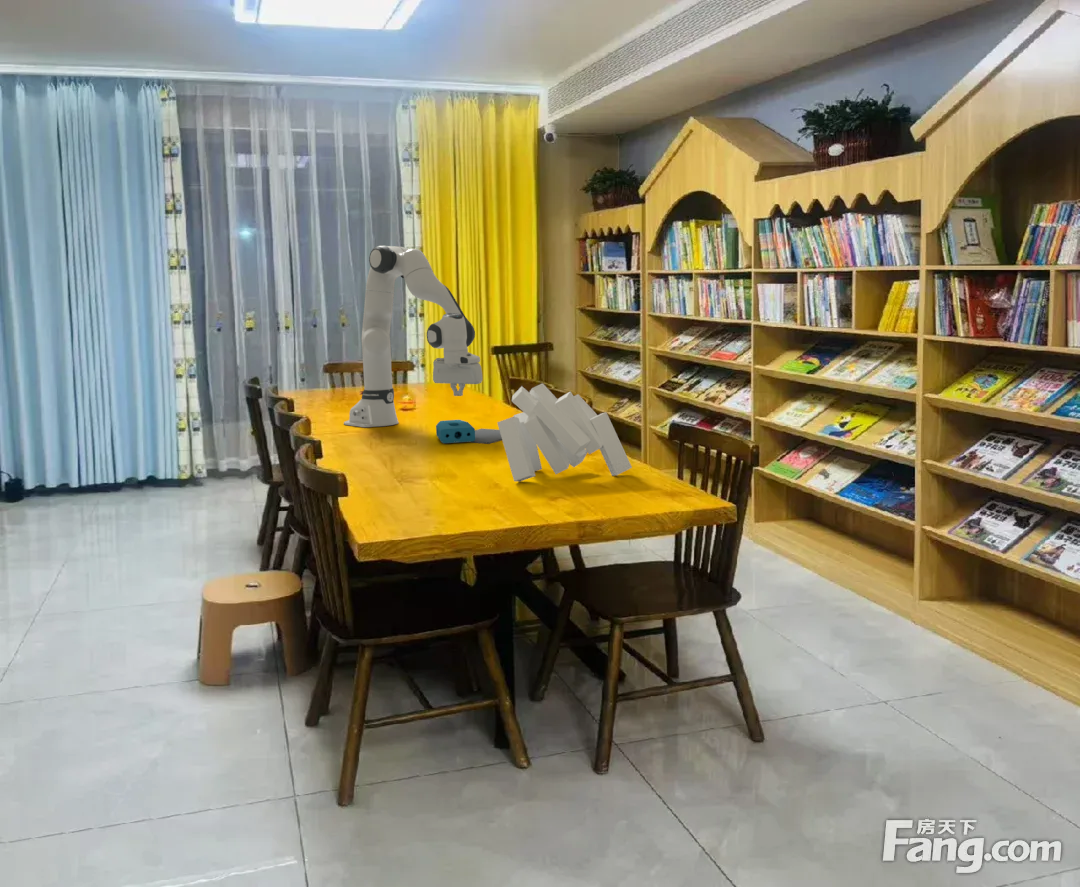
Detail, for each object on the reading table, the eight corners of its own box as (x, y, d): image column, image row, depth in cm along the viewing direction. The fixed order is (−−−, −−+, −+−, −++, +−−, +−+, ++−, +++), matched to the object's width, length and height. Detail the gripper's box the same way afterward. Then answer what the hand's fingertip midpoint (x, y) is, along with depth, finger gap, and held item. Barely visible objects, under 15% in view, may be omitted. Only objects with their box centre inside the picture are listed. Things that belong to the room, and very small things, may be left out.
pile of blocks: (614, 480, 322) (565, 379, 326) (649, 458, 294) (596, 348, 298) (515, 525, 310) (466, 419, 314) (542, 506, 282) (488, 391, 286)
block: (466, 419, 385) (474, 427, 366) (466, 432, 386) (475, 441, 366) (433, 421, 382) (440, 429, 363) (434, 434, 383) (441, 443, 364)
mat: (443, 440, 374) (443, 438, 374) (481, 430, 394) (481, 428, 394) (489, 443, 364) (489, 442, 363) (526, 433, 384) (526, 431, 383)
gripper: (428, 358, 383) (430, 396, 385) (473, 359, 372) (475, 397, 375) (438, 357, 388) (440, 393, 391) (483, 357, 378) (485, 395, 380)
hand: (458, 395), depth 383 cm, fingers closed
